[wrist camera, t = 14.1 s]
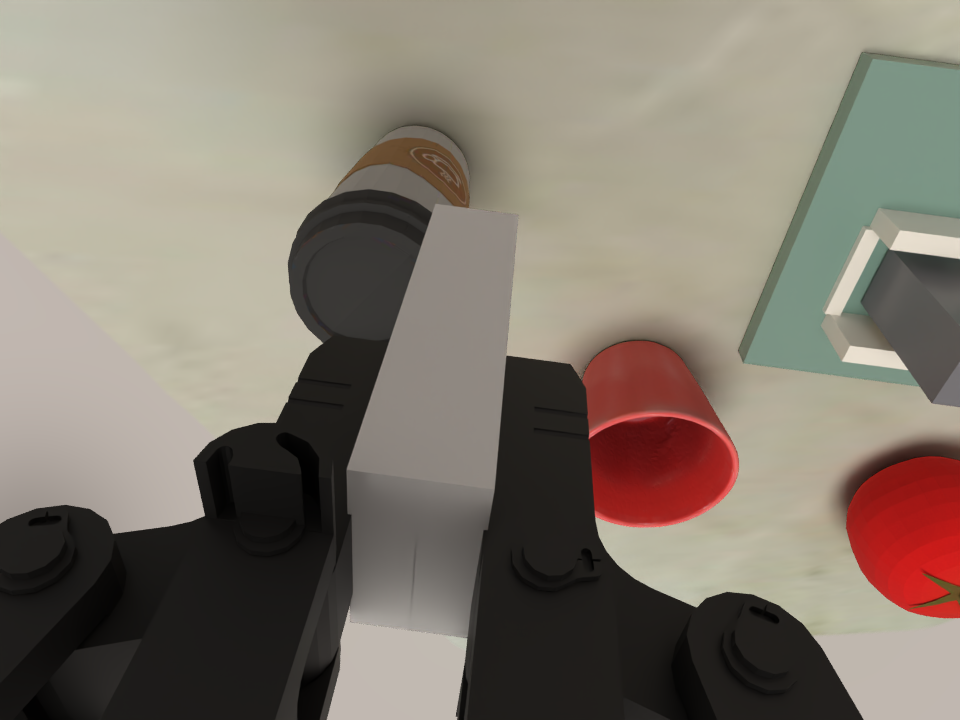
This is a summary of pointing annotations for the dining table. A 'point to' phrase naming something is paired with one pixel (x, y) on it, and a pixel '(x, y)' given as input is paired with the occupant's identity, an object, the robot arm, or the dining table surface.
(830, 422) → the dining table surface
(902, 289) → the plug
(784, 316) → the board
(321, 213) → the coffee cup
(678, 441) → the flower pot
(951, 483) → the tomato
